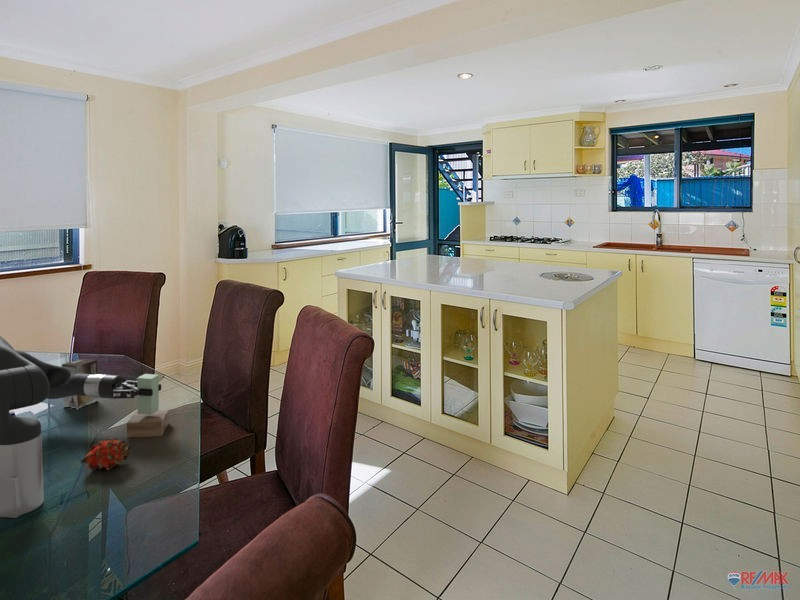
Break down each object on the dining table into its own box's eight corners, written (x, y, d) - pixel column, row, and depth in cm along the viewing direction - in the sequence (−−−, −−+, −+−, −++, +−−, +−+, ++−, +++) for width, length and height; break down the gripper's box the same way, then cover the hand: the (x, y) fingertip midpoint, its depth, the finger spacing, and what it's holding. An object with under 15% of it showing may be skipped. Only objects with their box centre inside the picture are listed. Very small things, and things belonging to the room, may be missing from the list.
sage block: (151, 414, 153) (151, 378, 151) (137, 413, 153) (137, 377, 151) (158, 409, 157) (158, 374, 156) (145, 408, 157) (145, 373, 156)
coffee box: (84, 399, 178) (83, 357, 176) (98, 401, 177) (98, 359, 175) (62, 407, 169) (61, 363, 167) (77, 410, 168) (76, 366, 166)
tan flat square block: (161, 436, 153) (161, 422, 152) (126, 438, 150) (126, 423, 149) (168, 424, 162) (168, 410, 161) (136, 425, 160) (135, 411, 159)
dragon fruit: (134, 466, 136) (86, 485, 128) (125, 442, 139) (77, 459, 132) (135, 451, 131) (85, 470, 123) (125, 426, 134) (75, 443, 126)
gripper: (89, 381, 147) (144, 385, 147) (117, 368, 161) (167, 372, 161) (90, 405, 148) (144, 409, 148) (117, 390, 162) (167, 393, 162)
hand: (156, 390), depth 154 cm, fingers open, 4 cm apart
